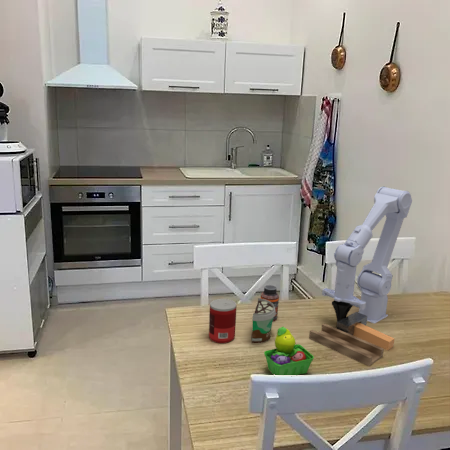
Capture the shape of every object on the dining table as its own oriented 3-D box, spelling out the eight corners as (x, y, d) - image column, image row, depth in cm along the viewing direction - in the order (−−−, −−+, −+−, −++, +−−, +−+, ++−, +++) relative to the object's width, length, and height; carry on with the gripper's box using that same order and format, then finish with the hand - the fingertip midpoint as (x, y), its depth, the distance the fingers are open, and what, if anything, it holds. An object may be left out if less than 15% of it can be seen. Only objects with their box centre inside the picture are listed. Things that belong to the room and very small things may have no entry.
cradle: (308, 339, 140) (309, 330, 140) (323, 332, 145) (324, 323, 145) (368, 367, 126) (370, 357, 126) (382, 358, 132) (383, 348, 131)
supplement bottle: (267, 325, 149) (269, 292, 146) (255, 318, 153) (257, 286, 150) (280, 320, 152) (283, 288, 149) (268, 313, 157) (270, 282, 154)
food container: (271, 348, 135) (274, 316, 132) (250, 345, 136) (252, 314, 133) (275, 329, 146) (278, 299, 144) (256, 326, 147) (258, 297, 145)
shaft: (340, 329, 146) (341, 320, 145) (346, 326, 148) (347, 317, 147) (387, 351, 135) (389, 342, 134) (392, 348, 137) (394, 338, 136)
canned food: (240, 337, 140) (241, 303, 137) (222, 346, 134) (223, 311, 132) (221, 328, 145) (223, 296, 142) (203, 337, 139) (204, 303, 137)
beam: (354, 325, 151) (356, 311, 149) (365, 330, 148) (367, 316, 147) (335, 336, 143) (337, 321, 142) (346, 341, 140) (348, 326, 139)
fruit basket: (275, 383, 118) (279, 343, 115) (259, 365, 125) (262, 327, 123) (313, 375, 122) (317, 336, 119) (295, 358, 130) (298, 321, 127)
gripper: (318, 278, 147) (314, 318, 150) (359, 293, 136) (354, 334, 140) (330, 273, 151) (326, 311, 155) (371, 287, 141) (366, 327, 145)
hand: (340, 322), depth 148 cm, fingers closed
